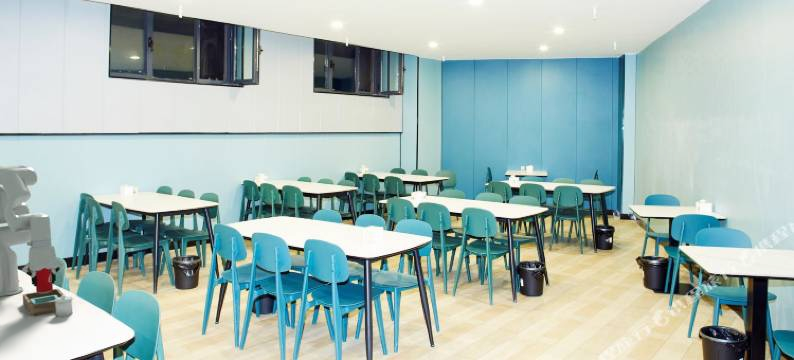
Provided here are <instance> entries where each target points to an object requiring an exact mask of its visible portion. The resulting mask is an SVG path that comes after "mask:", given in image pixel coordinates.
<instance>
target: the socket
mask: <svg viewBox="0 0 794 360" xmlns="http://www.w3.org/2000/svg"><path fill="white" fill-rule="evenodd" d="M56 298H59V297H58V296H57V295H52V296H46V297H40V298H34V299H30V301H31V303H32V304H33V305H35V304H40V303H46V302H52V301H54V299H56Z"/></svg>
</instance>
